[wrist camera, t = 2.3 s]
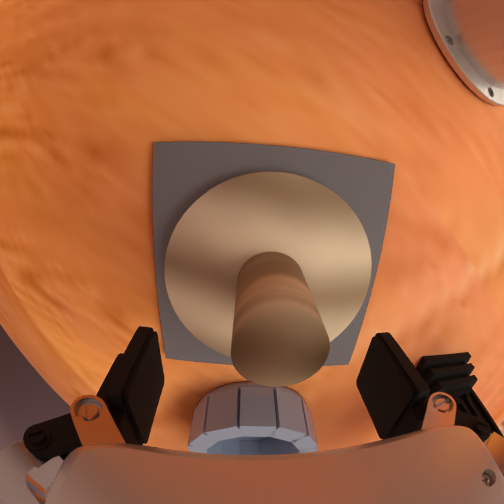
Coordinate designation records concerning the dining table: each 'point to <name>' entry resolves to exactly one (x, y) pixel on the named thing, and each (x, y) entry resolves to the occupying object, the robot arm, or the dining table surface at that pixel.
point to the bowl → (252, 421)
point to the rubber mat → (248, 161)
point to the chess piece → (455, 383)
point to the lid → (268, 273)
